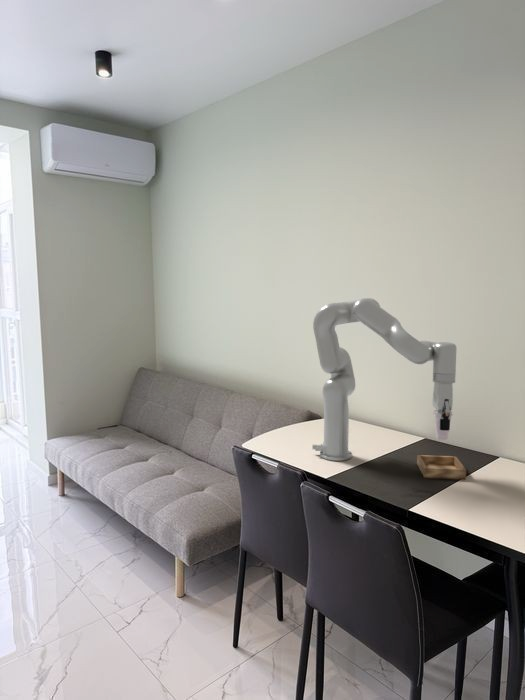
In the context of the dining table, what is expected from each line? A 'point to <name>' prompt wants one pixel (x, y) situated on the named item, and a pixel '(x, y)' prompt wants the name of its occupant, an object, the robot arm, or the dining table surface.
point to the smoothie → (439, 433)
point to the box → (441, 467)
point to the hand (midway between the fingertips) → (442, 427)
